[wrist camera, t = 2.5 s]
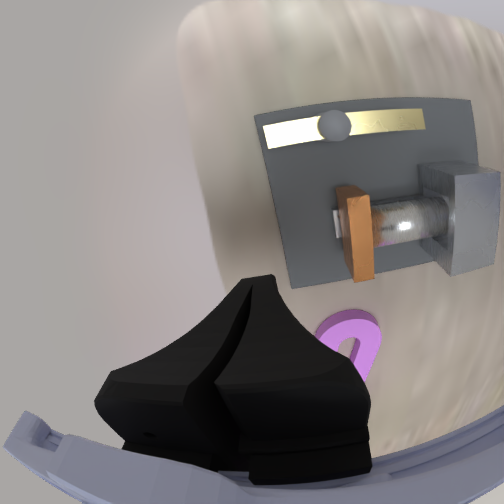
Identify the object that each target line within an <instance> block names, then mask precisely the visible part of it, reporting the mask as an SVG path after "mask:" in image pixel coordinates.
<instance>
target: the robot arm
mask: <svg viewBox="0 0 504 504" xmlns="http://www.w3.org/2000/svg"><path fill="white" fill-rule="evenodd" d="M94 402H95V407H96V410H97V412H98V414H99V415H100V416H101V417H102V419H103V420H104V421H105V422H106V423H107V424H108V425H109V426H110V427H111V428H112V429H113V430H114V431H115V432H116V433H117V434H118V435H119V436H120V437H122V438H123V439H124V440H125V443H124V445H123V447H122V449H118V448H114V447H111V446H108V445H104V444H101V443H98V442H94V441H91V440H88V439H85V438H82V437H80V436H74V435H64V434H61V433H59V432H56V431H54V430H52V429H51V428H50V427H49V426H48V425H47V424H46V423H45V422H44V421H43V420H42V419H41V418H39V417H38V416H36V415H34V414H32V413H30V412H28V411H24V413H23V414H22V416H21V418H20V419H19V421H18V422H17V424H16V425H15V427H14V429H13V430H12V432H11V434H10V435H9V437H8V439H7V440H6V442H5V444H4V446H3V448H4V449H5V450H6V451H7V452H8V453H9V454H10V455H12V456H13V457H14V458H15V459H16V460H18V461H19V462H20V463H21V464H23V465H24V466H25V467H27V468H28V469H29V470H31V471H32V472H33V473H35V474H36V475H38V476H39V477H40V478H42V479H43V480H45V481H46V482H48V483H49V484H51V485H53V486H54V487H56V488H57V489H59V490H61V491H62V492H64V493H66V494H68V495H69V496H71V497H73V498H75V499H77V500H79V501H80V502H82V504H468V503H470V502H472V501H473V500H475V499H477V498H479V497H480V496H482V495H484V494H486V493H487V492H489V491H491V490H492V489H494V488H496V487H497V486H499V485H500V484H502V483H503V482H504V405H503V406H501V407H500V408H498V409H496V410H495V411H493V412H491V413H489V414H487V415H486V416H484V417H482V418H480V419H478V420H476V421H474V422H472V423H470V424H468V425H466V426H464V427H462V428H459V429H457V430H455V431H453V432H450V433H448V434H446V435H443V436H441V437H438V438H436V439H433V440H431V441H428V442H425V443H422V444H420V445H417V446H414V447H411V448H408V449H404V450H401V451H398V452H394V453H391V454H387V455H383V456H379V457H375V458H371V453H370V447H369V439H370V438H369V431H368V426H367V424H368V419H369V414H370V408H371V400H370V395H369V392H368V390H367V387H366V385H365V383H364V381H363V379H362V377H361V375H360V374H359V372H358V370H357V369H356V367H355V366H354V364H353V363H352V361H351V360H350V359H349V358H347V357H345V356H344V355H342V354H340V353H338V352H336V351H334V350H332V349H331V348H329V347H328V346H326V345H325V344H324V343H322V342H321V341H320V340H318V339H317V338H316V337H315V336H313V335H312V334H311V333H310V332H309V331H307V330H306V329H305V328H304V327H303V326H302V325H301V324H300V322H299V321H298V320H297V319H296V318H295V317H294V315H293V314H292V313H291V312H290V310H289V309H288V307H287V306H286V304H285V303H284V301H283V299H282V298H281V296H280V294H279V292H278V287H277V283H276V278H275V276H274V275H272V274H270V275H264V276H258V277H251V278H245V279H241V280H240V281H239V282H238V284H237V285H236V286H235V287H234V288H233V289H232V290H231V291H230V293H229V294H228V295H227V296H226V297H225V298H224V299H223V301H222V302H221V303H220V304H219V305H218V306H217V307H216V308H215V309H214V310H213V311H212V312H211V313H210V314H209V315H208V316H206V317H205V318H204V319H203V320H202V321H201V322H200V323H199V324H198V325H196V326H195V327H194V328H193V329H191V330H190V331H189V332H188V333H186V334H185V335H183V336H182V337H180V338H179V339H177V340H176V341H174V342H173V343H171V344H169V345H168V346H166V347H165V348H163V349H161V350H159V351H158V352H156V353H154V354H152V355H150V356H148V357H146V358H144V359H142V360H139V361H137V362H135V363H132V364H130V365H127V366H125V367H122V368H119V369H116V370H113V371H111V372H110V374H109V375H108V377H107V379H106V381H105V382H104V384H103V386H102V388H101V389H100V391H99V393H98V395H97V396H96V398H95V400H94Z"/></svg>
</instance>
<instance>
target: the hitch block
mask: <svg viewBox="0 0 504 504" xmlns="http://www.w3.org/2000/svg"><path fill="white" fill-rule="evenodd" d="M417 171H418V183H419V194H417V195H410V196H403V197H396V198H390V199H383V200H376V201H370V207H371V206H377V205H383V204H390V203H396V202H403V201H409V200H416V199H423V198H430V197H437V196H440V197H442V198H443V199H444V200H445V202H446V203H447V205H448V208H449V226H448V232H447V233H446V234H443V235H438V236H433V237H428V238H423V239H420V247H421V248H422V249H423V250H424V251H425V252H426V253H428V254H429V255H430V256H431V257H432V258H433V259H434V260H435V261H436V262H437V263H438V264H439V265H440V266H441V267H442V268H443V269H444V270H445V272H446V273H447V274H448V275H449V276H450V277H451V276H455V275H458V274H462V273H465V272H469V271H472V270H476V269H479V268H482V267H485V266H489V265H492V264H494V258H495V252H496V245H497V236H498V226H499V213H500V172H499V171H495V170H492V169H489V168H486V167H482V166H479V165H476V164H472V163H468V162H465V161H461V160H458V161H443V162H431V163H420V164H417ZM331 212H332V219H333V226H334V234H335V236H336V238H339V237H342V232H341V224H340V216H339V208H338V207H334V208H331Z"/></svg>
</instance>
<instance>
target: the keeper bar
mask: <svg viewBox="0 0 504 504" xmlns="http://www.w3.org/2000/svg"><path fill="white" fill-rule="evenodd" d="M345 114H346V115H347V116H348V117H349V119H350V121H351V125H352V129H351V133H350V135H357V134H366V133H376V132H388V131H402V130H420V129H425V122H424V117H423V111H422V109H390V110H374V111H362V112H351V113H345ZM320 118H321V116H319V117H312V118H305V119H299V120H294V121H288V122H283V123H277V124H272V125H267V126H263V128H264V132H265V136H266V140H267V144H268V149H270V148H274V147H280V146H285V145H290V144H296V143H301V142H307V141H313V140H320V139H326V138H325V137H324V136H323V135H322V134H321V132H320V130H319V120H320Z"/></svg>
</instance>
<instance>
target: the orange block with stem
mask: <svg viewBox="0 0 504 504" xmlns="http://www.w3.org/2000/svg"><path fill="white" fill-rule="evenodd" d="M336 194H337V201H338V208H339V216H340V224H341V232H342V241H343V251H344V261H345V263H346V265H347V267H348V269H349V272H350V274H351V276H352V278H353V280H354V283H355V282H361V281H366V280H371V279H374V250H373V248H376V247H382V246H387V245H392V244H397V243H402V242H408V241H413V240H418V239H423V238H428V237H433V236H438V235H443V234H446V233H447V232H448V226H449V208H448V205H447V203H446V202H445V200H444V199H443V198H442V197H440V196H437V197H430V198H423V199H416V200H409V201H403V202H396V203H390V204H383V205H377V206H371V207H370V198H369V195H368V194H367V193H366V192H364V191H363V190H361V189H360V188H359V187H357V186H356V185H350V186H343V187H337V188H336Z"/></svg>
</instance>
